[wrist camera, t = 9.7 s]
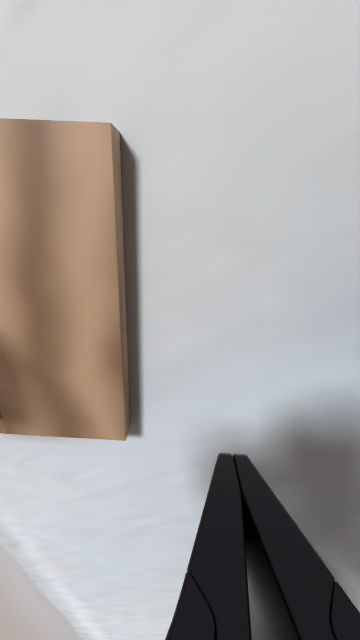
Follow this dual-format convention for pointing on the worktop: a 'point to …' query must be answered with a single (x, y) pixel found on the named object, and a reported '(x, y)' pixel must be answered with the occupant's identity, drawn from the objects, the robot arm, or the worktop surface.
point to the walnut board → (62, 281)
